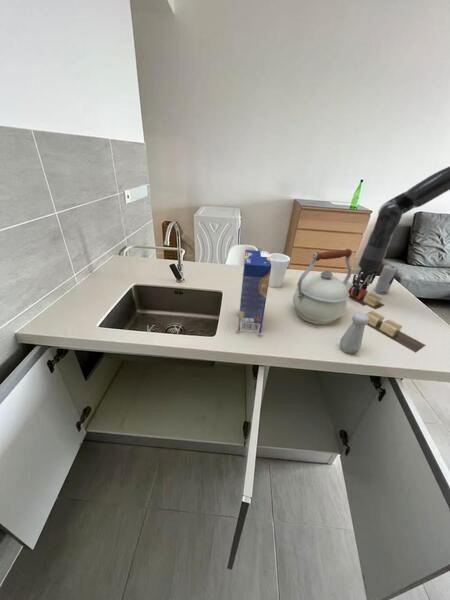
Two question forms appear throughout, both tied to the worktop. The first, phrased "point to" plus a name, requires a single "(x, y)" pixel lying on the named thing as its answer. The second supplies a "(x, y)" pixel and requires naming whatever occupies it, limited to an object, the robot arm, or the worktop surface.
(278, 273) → the foam cup
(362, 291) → the s tile
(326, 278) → the kettle
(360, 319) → the salt shaker
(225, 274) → the worktop surface
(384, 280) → the energy drink
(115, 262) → the worktop surface
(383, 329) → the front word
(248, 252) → the juice carton
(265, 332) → the worktop surface
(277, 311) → the worktop surface
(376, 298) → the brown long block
